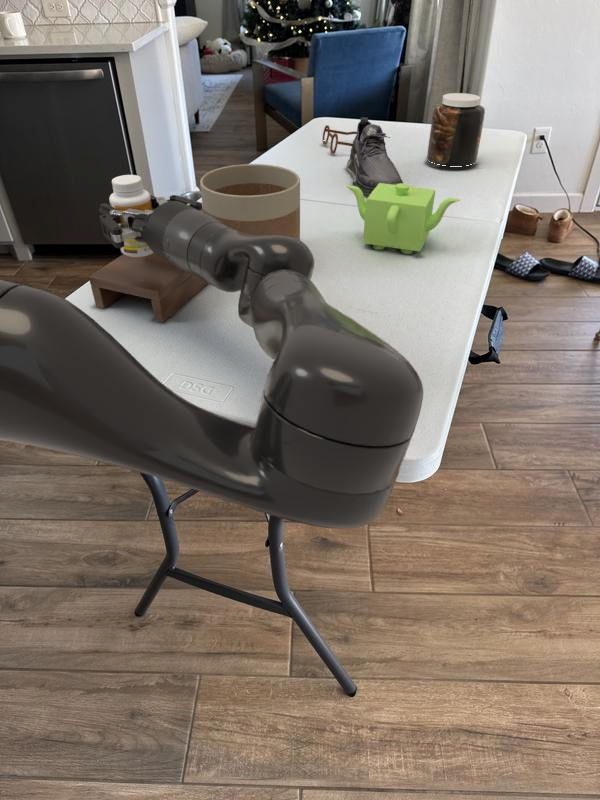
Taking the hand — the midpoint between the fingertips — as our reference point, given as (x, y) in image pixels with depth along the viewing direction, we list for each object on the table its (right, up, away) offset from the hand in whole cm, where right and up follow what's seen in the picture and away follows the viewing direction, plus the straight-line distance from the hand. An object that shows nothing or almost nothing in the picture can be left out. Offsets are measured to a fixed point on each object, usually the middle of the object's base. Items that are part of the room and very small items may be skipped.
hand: (123, 205), depth 82 cm
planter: (+17, -3, +18) cm, 25 cm away
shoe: (+42, +22, +50) cm, 69 cm away
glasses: (+39, +39, +71) cm, 90 cm away
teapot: (+43, +1, +24) cm, 49 cm away
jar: (+62, +31, +61) cm, 93 cm away
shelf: (+2, -11, +9) cm, 14 cm away
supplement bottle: (+2, -6, +2) cm, 7 cm away
